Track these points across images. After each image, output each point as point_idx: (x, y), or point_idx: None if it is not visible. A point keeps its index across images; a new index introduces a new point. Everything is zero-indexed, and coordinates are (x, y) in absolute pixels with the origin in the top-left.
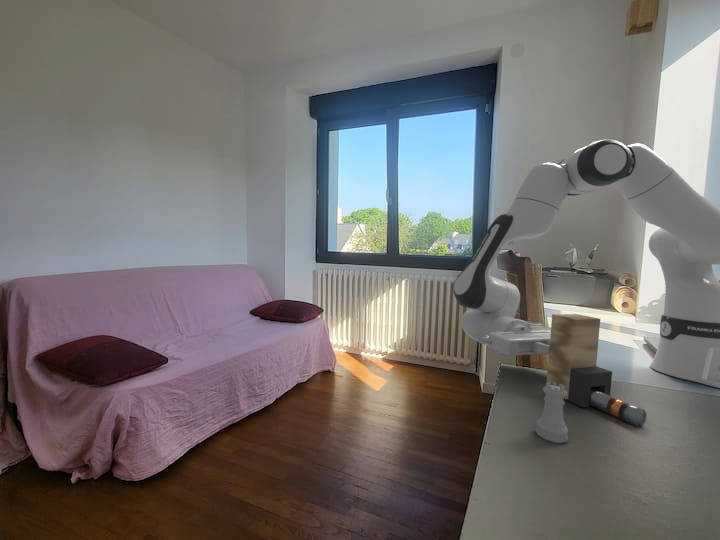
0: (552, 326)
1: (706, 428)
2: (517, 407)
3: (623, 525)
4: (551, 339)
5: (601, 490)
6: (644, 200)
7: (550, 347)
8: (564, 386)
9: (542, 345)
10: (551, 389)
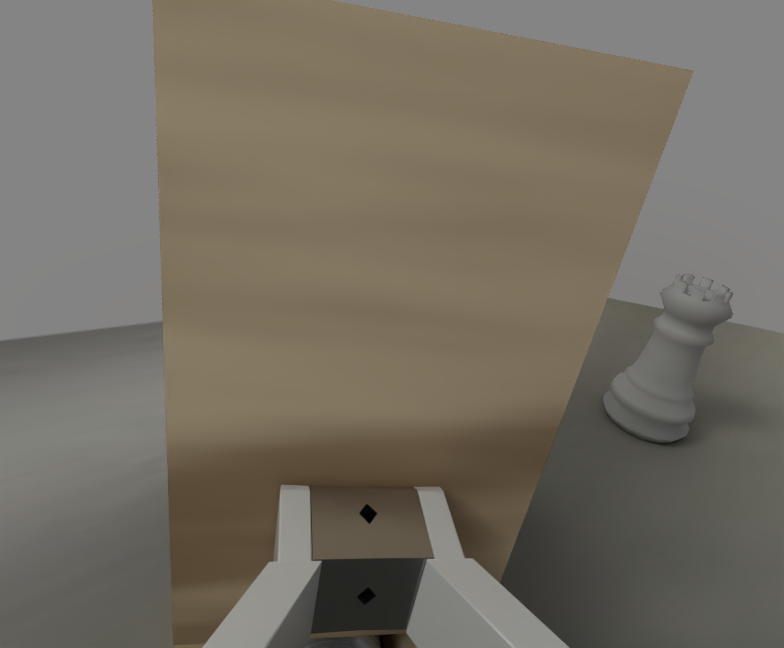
0: (618, 236)
1: (76, 339)
2: (714, 568)
3: (622, 305)
4: (566, 375)
5: (616, 328)
6: None
7: (540, 451)
8: (676, 276)
9: (531, 618)
10: (715, 292)
